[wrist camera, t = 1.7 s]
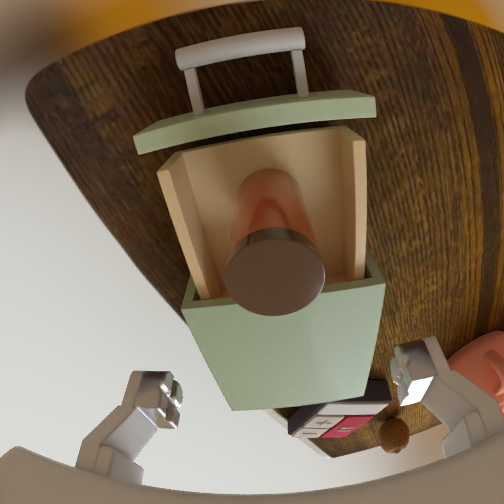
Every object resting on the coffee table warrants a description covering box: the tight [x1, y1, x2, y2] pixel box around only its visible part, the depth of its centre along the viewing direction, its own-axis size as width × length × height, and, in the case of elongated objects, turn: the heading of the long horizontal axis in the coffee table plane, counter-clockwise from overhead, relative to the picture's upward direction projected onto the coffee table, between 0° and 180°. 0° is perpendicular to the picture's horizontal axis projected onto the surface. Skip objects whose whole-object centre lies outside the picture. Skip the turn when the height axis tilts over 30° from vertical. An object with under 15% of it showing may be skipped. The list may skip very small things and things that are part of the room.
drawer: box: [133, 27, 376, 300], centre depth 19 cm, size 20×13×5 cm
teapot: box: [447, 331, 504, 417], centre depth 32 cm, size 25×17×13 cm
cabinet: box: [181, 244, 386, 411], centre depth 27 cm, size 17×15×7 cm
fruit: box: [378, 418, 409, 454], centre depth 44 cm, size 6×6×8 cm
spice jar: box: [225, 169, 325, 316], centre depth 17 cm, size 5×5×9 cm
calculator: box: [288, 380, 392, 438], centre depth 40 cm, size 11×4×15 cm
